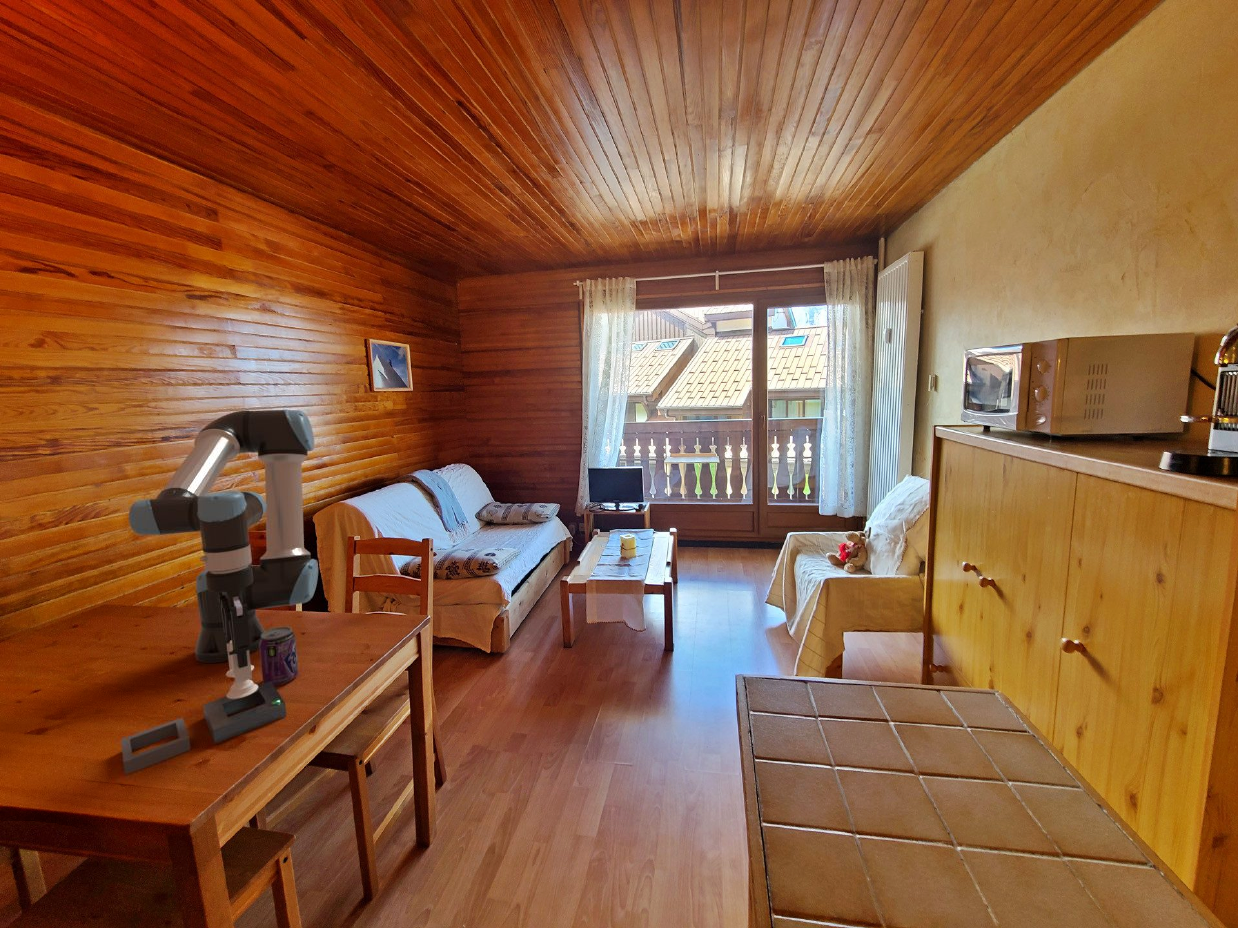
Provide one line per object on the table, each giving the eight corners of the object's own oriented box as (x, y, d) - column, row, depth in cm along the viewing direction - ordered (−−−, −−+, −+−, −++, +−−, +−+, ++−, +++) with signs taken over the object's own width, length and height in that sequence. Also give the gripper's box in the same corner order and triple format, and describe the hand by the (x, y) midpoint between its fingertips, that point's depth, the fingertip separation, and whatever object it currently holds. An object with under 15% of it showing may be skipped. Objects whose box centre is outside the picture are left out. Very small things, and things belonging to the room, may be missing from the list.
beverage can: (281, 689, 116) (276, 640, 115) (255, 686, 118) (250, 637, 116) (305, 673, 123) (301, 626, 122) (281, 670, 125) (276, 624, 123)
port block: (204, 717, 106) (202, 702, 106) (271, 693, 115) (270, 679, 115) (215, 744, 98) (213, 727, 98) (286, 715, 107) (285, 700, 106)
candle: (220, 700, 103) (214, 645, 101) (235, 686, 108) (229, 633, 106) (250, 697, 104) (244, 642, 102) (263, 683, 109) (257, 630, 107)
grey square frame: (122, 751, 96) (120, 739, 96) (184, 728, 103) (182, 717, 102) (125, 775, 90) (123, 762, 90) (190, 749, 97) (189, 737, 96)
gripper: (198, 562, 106) (210, 667, 109) (213, 583, 93) (226, 700, 97) (242, 554, 111) (252, 654, 114) (261, 573, 99) (273, 684, 102)
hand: (240, 675), depth 105 cm, fingers closed on candle, 5 cm apart
